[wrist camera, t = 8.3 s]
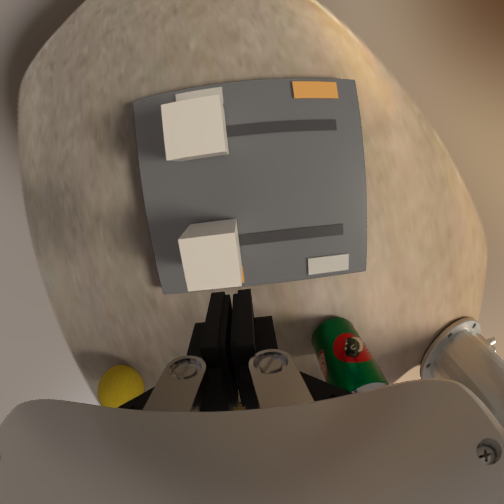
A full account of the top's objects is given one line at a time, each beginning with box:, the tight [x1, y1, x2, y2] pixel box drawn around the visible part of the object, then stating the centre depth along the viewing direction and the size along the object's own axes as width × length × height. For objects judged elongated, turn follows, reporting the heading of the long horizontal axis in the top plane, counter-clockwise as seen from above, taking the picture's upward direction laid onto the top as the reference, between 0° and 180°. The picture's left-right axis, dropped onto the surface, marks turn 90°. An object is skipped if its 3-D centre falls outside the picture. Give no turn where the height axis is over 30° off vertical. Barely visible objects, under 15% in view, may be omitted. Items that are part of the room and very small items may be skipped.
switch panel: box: [133, 78, 367, 294], centre depth 24 cm, size 20×18×2 cm
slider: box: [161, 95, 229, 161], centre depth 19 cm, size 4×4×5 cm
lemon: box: [98, 365, 145, 408], centre depth 27 cm, size 6×6×8 cm
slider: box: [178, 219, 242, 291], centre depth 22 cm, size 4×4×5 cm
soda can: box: [312, 318, 389, 393], centre depth 24 cm, size 5×5×12 cm
